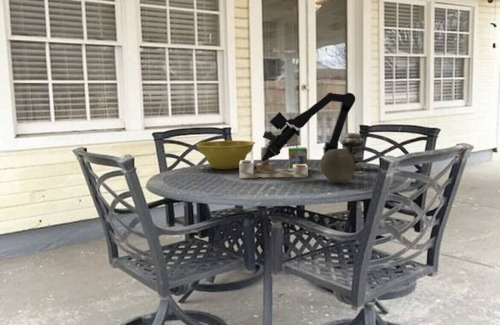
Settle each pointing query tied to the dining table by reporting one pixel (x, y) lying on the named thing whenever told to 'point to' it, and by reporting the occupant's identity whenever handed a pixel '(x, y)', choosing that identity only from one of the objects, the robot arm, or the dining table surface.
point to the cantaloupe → (338, 165)
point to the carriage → (264, 164)
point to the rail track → (271, 171)
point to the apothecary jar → (353, 146)
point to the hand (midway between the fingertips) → (262, 160)
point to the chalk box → (297, 156)
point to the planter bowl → (225, 153)
